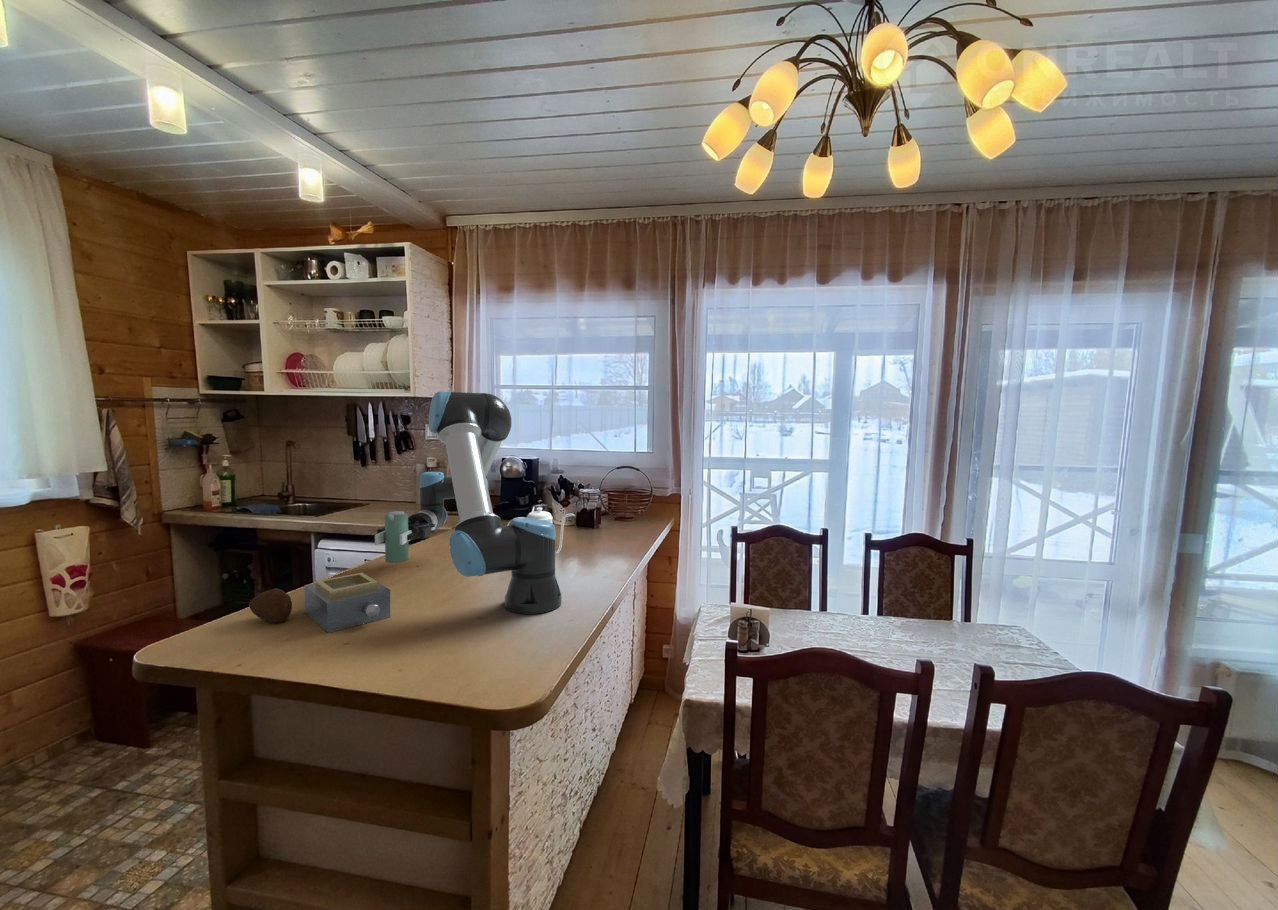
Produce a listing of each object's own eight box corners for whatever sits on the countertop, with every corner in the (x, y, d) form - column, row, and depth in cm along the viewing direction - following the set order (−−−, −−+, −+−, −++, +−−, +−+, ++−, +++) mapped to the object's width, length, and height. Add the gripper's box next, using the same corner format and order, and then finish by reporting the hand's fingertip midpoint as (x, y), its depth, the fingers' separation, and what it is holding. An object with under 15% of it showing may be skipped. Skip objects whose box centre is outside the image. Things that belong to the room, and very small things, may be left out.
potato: (277, 628, 122) (276, 595, 121) (242, 624, 124) (241, 592, 123) (303, 617, 129) (302, 585, 129) (269, 613, 131) (268, 582, 130)
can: (391, 557, 151) (390, 510, 150) (411, 557, 151) (411, 510, 151) (379, 564, 144) (378, 514, 143) (401, 564, 144) (400, 515, 143)
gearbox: (395, 620, 128) (394, 586, 128) (332, 636, 118) (331, 600, 117) (363, 599, 142) (363, 568, 142) (305, 612, 132) (304, 579, 132)
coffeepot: (571, 565, 179) (572, 511, 178) (501, 562, 181) (501, 508, 180) (578, 557, 190) (578, 506, 188) (511, 554, 192) (511, 503, 191)
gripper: (451, 535, 166) (423, 553, 143) (391, 535, 166) (353, 553, 143) (450, 512, 166) (423, 526, 143) (390, 511, 165) (353, 526, 142)
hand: (388, 539), depth 143 cm, fingers closed on can, 6 cm apart
